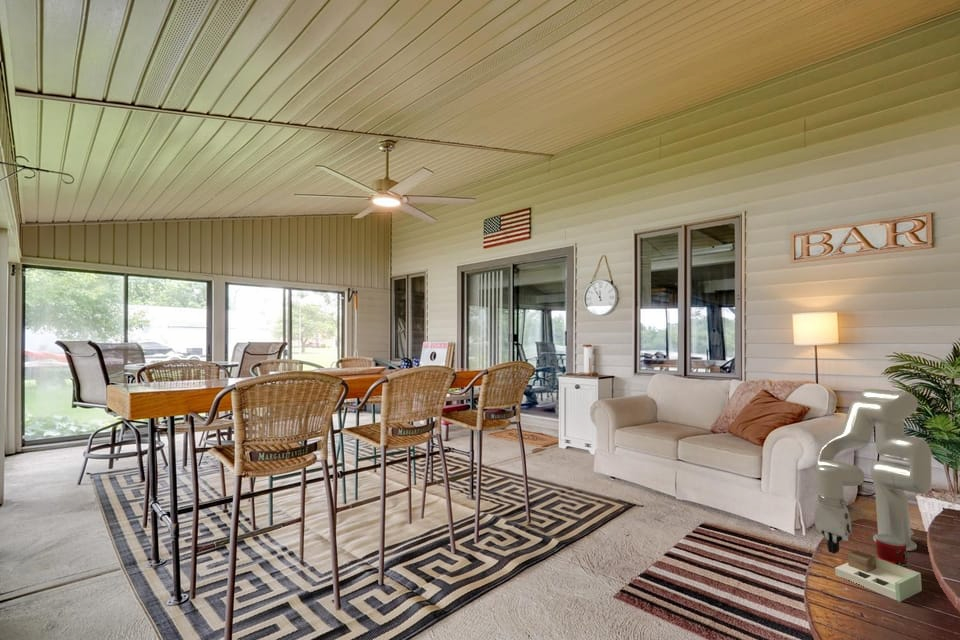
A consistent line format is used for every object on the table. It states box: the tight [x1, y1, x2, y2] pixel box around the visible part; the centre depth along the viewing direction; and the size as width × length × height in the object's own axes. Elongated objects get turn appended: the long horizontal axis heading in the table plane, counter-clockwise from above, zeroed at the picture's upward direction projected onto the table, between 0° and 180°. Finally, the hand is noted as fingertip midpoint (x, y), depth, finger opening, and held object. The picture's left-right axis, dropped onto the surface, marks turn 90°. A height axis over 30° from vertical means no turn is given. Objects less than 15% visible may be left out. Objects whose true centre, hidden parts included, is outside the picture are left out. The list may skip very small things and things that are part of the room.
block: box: [847, 550, 876, 573], centre depth 159 cm, size 6×6×4 cm
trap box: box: [834, 556, 923, 603], centre depth 154 cm, size 13×18×6 cm
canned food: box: [875, 534, 909, 569], centre depth 161 cm, size 8×8×11 cm
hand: (833, 551), depth 167 cm, fingers closed
